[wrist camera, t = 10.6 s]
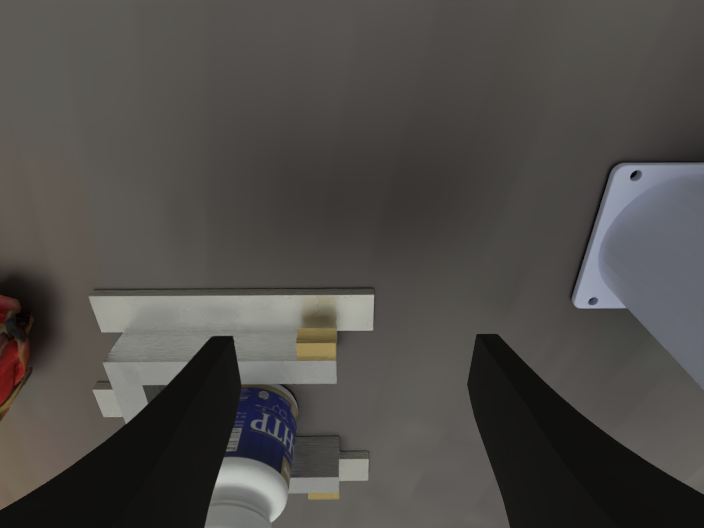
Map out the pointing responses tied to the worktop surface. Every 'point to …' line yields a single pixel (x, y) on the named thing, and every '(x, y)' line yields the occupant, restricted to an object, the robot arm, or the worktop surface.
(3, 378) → the dragon fruit
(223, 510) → the pill bottle
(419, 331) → the worktop surface
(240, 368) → the socket
